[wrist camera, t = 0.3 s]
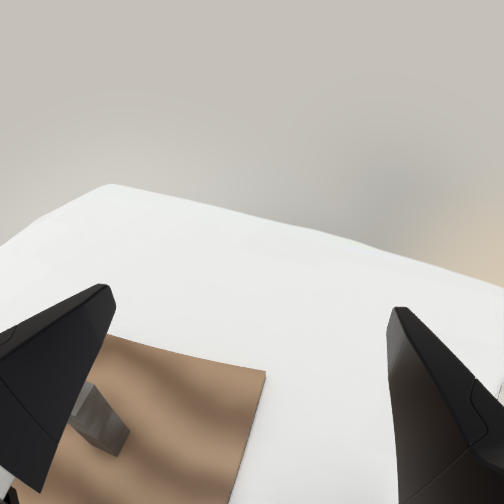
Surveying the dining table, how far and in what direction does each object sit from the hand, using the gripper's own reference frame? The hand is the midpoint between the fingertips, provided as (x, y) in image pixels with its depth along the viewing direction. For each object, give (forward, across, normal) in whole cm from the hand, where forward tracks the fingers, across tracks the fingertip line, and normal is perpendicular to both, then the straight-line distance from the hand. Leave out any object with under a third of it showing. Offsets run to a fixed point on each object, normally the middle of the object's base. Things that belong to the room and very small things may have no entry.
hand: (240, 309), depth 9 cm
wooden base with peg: (+1, +12, +17) cm, 20 cm away
